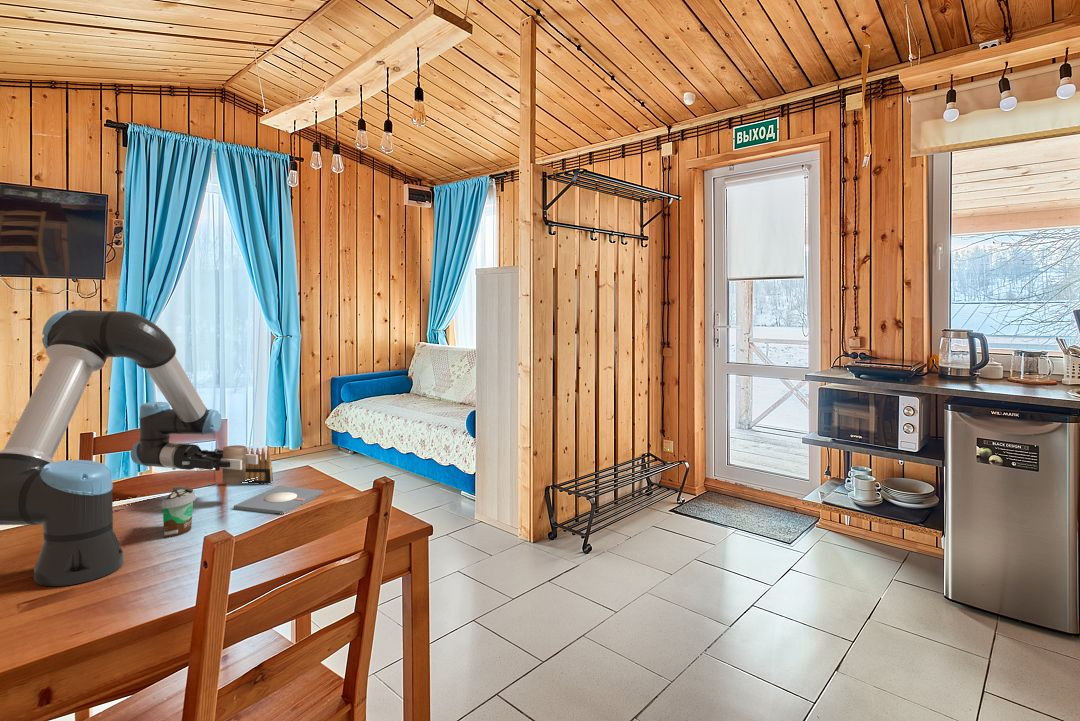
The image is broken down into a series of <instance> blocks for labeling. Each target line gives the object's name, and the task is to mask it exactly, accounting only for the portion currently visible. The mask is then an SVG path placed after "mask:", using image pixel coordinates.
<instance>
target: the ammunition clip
mask: <svg viewBox="0 0 1080 721" xmlns="http://www.w3.org/2000/svg"><path fill="white" fill-rule="evenodd" d="M246 454H253V455H258V464H246V476H245V480H247V479H250V480H247V481H244V482H248V483H259V484H258V485H265V484H264V483H271V481H273V466H272V456H271V455H272V454H271V449H270V447H268V448H267V451H266V450H265V448H264V447H262V449H261V452H260V448H259V447H256V451H255V449H254V447H251V449H250V452H249V449H248V447H247V446H246ZM256 477H258V478H256ZM251 478H255V479H251ZM257 479H258V480H257ZM252 480H254V481H252ZM249 481H252V482H249ZM273 482H274V481H273ZM241 483H242V482H241ZM261 483H263V484H261ZM271 484H272V483H271Z"/></svg>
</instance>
